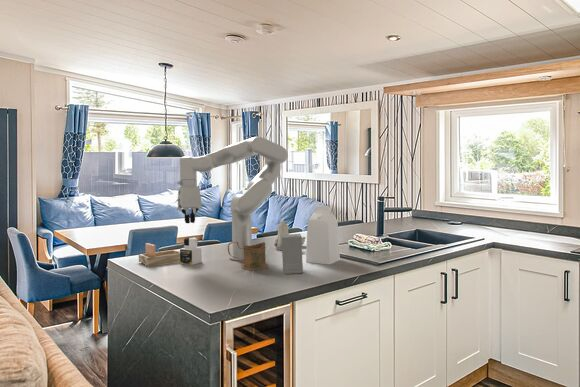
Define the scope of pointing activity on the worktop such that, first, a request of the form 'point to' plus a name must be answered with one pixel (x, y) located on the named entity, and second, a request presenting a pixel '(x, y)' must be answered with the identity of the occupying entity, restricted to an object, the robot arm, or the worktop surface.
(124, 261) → the worktop surface
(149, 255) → the pusher plate
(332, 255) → the milk
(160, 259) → the wooden tray
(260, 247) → the mug
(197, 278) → the worktop surface
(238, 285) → the worktop surface
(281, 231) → the chinaware
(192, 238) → the medicine bottle
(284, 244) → the skincare box
